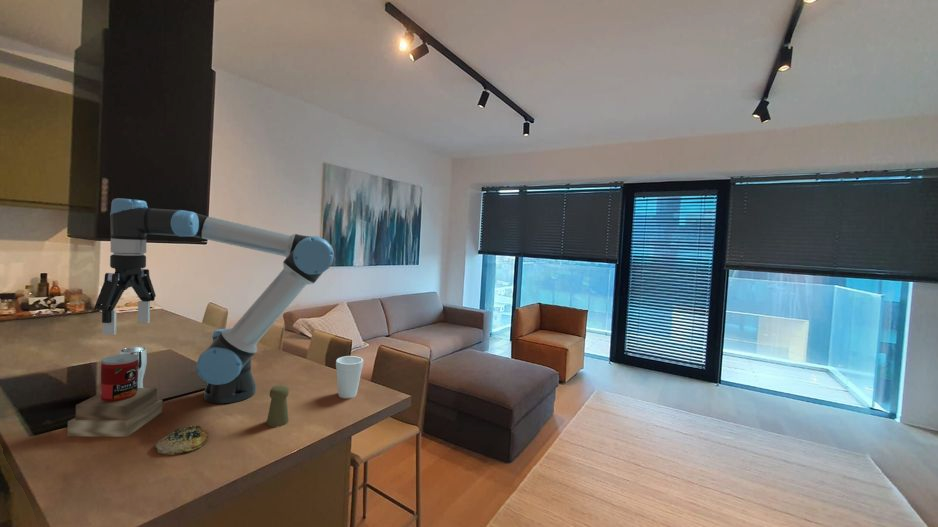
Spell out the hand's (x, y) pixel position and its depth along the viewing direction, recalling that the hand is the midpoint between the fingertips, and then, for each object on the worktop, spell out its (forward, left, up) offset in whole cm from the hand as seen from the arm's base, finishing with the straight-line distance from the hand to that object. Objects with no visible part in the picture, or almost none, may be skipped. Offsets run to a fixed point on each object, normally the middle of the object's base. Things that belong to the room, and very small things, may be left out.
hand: (127, 328), depth 107 cm
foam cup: (-59, -21, -27) cm, 68 cm away
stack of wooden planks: (0, +2, -27) cm, 27 cm away
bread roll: (-23, +13, -27) cm, 38 cm away
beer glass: (+10, -18, -27) cm, 34 cm away
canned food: (0, +2, -19) cm, 19 cm away
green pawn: (-42, 0, -27) cm, 50 cm away
